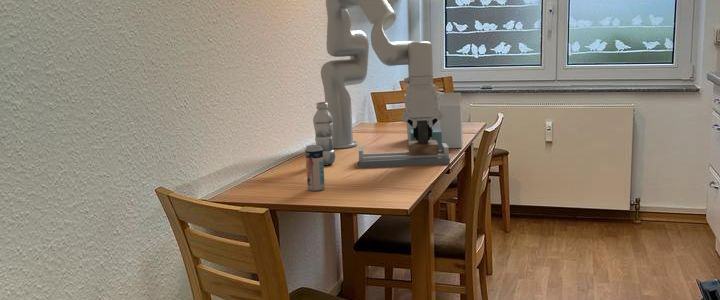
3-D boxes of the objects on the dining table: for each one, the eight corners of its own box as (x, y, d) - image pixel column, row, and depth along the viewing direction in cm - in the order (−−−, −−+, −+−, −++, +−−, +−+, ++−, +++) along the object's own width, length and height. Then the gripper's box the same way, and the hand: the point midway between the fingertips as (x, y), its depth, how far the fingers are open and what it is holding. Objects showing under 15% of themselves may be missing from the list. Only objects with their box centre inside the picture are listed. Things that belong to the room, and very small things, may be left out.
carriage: (409, 155, 220) (408, 123, 218) (408, 150, 229) (407, 119, 227) (438, 153, 220) (437, 121, 218) (436, 149, 229) (435, 118, 227)
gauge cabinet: (411, 157, 234) (411, 133, 232) (410, 152, 242) (409, 129, 240) (442, 155, 233) (441, 131, 232) (440, 151, 242) (439, 128, 240)
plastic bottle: (338, 162, 230) (335, 101, 227) (331, 167, 224) (327, 103, 220) (320, 162, 232) (316, 101, 229) (312, 166, 226) (308, 104, 222)
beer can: (307, 188, 195) (304, 145, 193) (324, 187, 195) (322, 144, 193) (307, 192, 190) (304, 148, 188) (325, 191, 190) (323, 147, 188)
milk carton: (461, 148, 246) (460, 93, 243) (440, 148, 248) (439, 94, 244) (462, 145, 253) (461, 91, 250) (442, 145, 254) (441, 92, 251)
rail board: (359, 168, 220) (358, 152, 219) (360, 160, 232) (359, 145, 231) (449, 164, 219) (449, 148, 218) (446, 157, 231) (445, 142, 230)
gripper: (394, 83, 217) (397, 142, 220) (448, 81, 217) (450, 140, 220) (394, 81, 225) (396, 139, 228) (446, 79, 224) (447, 136, 227)
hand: (422, 139), depth 224 cm, fingers closed on carriage, 3 cm apart
